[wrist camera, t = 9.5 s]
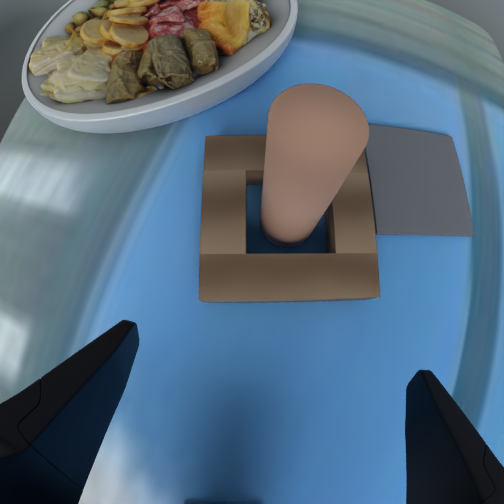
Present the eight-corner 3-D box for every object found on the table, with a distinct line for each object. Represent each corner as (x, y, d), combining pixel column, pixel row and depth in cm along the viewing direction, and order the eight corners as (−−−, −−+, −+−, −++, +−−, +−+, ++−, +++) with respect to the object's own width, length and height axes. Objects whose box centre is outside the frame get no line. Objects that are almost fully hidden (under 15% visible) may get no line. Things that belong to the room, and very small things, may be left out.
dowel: (320, 237, 24) (386, 152, 11) (270, 255, 24) (291, 178, 11) (301, 190, 25) (341, 77, 12) (252, 206, 24) (253, 94, 12)
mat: (470, 236, 24) (474, 234, 24) (375, 234, 24) (377, 232, 24) (449, 138, 26) (451, 136, 26) (359, 126, 26) (361, 123, 26)
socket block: (367, 299, 23) (379, 296, 21) (204, 302, 23) (199, 299, 21) (353, 154, 26) (362, 139, 23) (209, 152, 26) (205, 135, 23)
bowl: (253, 179, 25) (253, 123, 18) (2, 137, 27) (-36, 103, 19) (311, -8, 31) (318, -53, 24) (116, -16, 33) (103, -52, 25)
